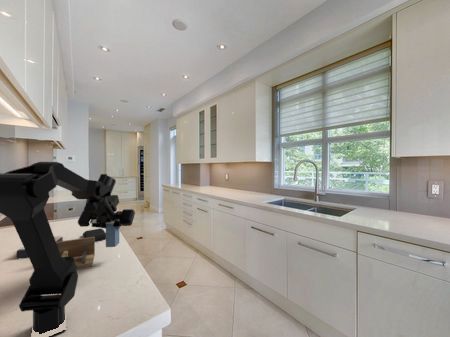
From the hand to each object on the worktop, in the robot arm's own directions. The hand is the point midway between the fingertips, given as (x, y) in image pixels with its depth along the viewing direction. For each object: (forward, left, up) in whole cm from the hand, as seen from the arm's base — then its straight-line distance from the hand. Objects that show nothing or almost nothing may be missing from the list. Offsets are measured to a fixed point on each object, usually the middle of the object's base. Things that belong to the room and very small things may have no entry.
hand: (114, 227), depth 81 cm
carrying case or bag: (+33, +4, -14) cm, 36 cm away
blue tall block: (-1, +1, -7) cm, 7 cm away
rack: (+5, +14, -13) cm, 20 cm away
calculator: (+30, +24, -14) cm, 41 cm away
